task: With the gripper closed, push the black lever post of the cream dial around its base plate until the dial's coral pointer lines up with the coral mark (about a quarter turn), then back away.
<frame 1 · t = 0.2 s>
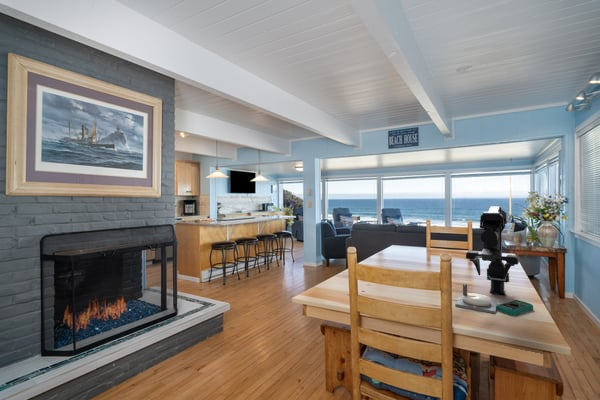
hand: (491, 277, 126), 14 cm above the table, fingers open, 9 cm apart
dial: (476, 293, 132), point 5 cm above the table, hinge at 0.0°
digital multimeter: (514, 311, 126), on the table
base plate: (476, 304, 132), on the table
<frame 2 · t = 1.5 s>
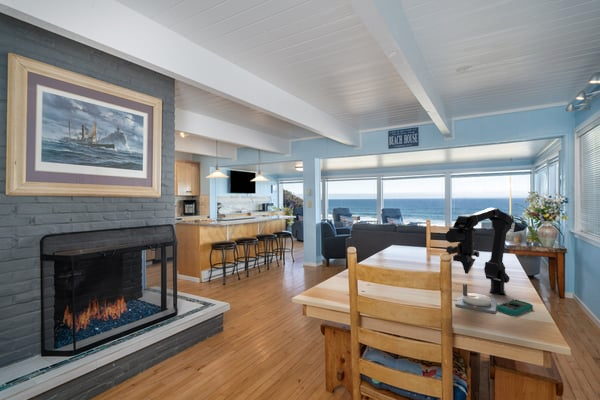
hand: (466, 273, 140), 12 cm above the table, fingers closed
nothing on the table moved.
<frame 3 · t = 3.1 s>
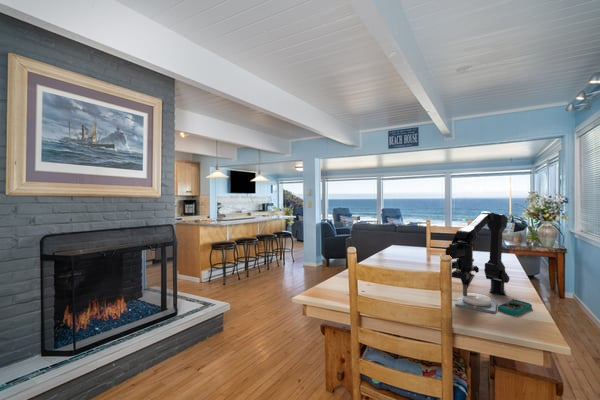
hand: (465, 289, 137), 5 cm above the table, fingers closed
dial: (476, 293, 132), point 5 cm above the table, hinge at 2.9°, touching gripper
everything else where it was.
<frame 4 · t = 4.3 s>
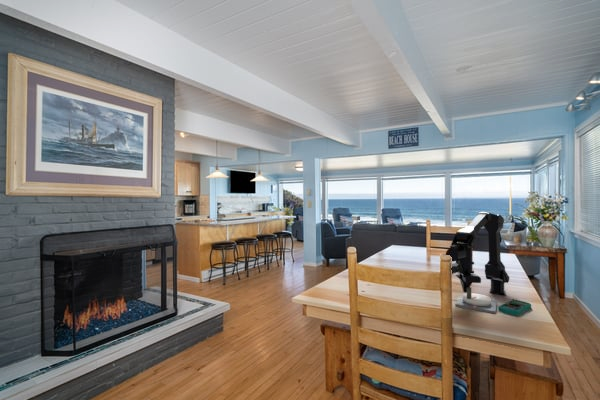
hand: (464, 292, 134), 5 cm above the table, fingers closed
dial: (476, 293, 132), point 5 cm above the table, hinge at 57.0°, touching gripper
everything else where it was.
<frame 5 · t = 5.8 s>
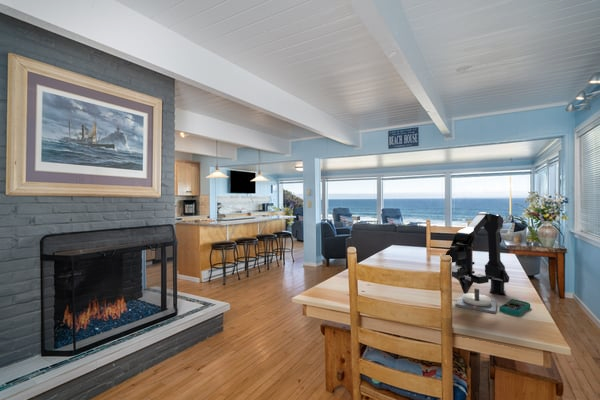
hand: (465, 293, 133), 5 cm above the table, fingers closed
dial: (476, 293, 132), point 5 cm above the table, hinge at 97.6°
everything else where it was.
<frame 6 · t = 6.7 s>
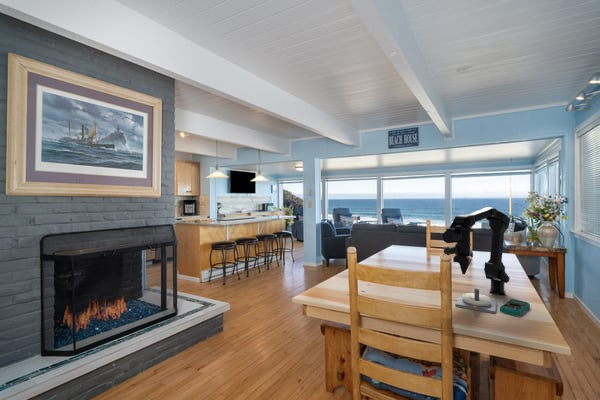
hand: (463, 274, 139), 12 cm above the table, fingers closed
nothing on the table moved.
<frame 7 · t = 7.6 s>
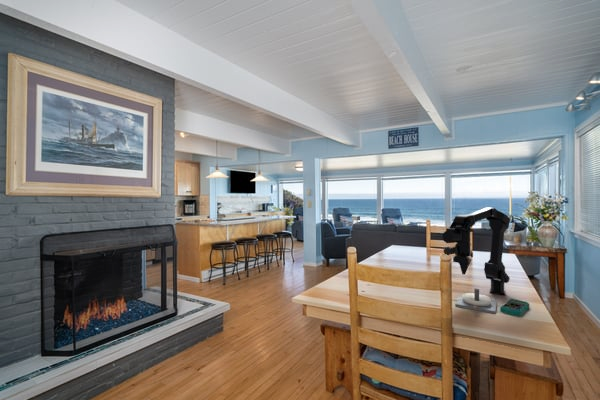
hand: (463, 274, 139), 12 cm above the table, fingers closed
at the end: dial at +98° (first picture: +0°); dial touching nothing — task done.
